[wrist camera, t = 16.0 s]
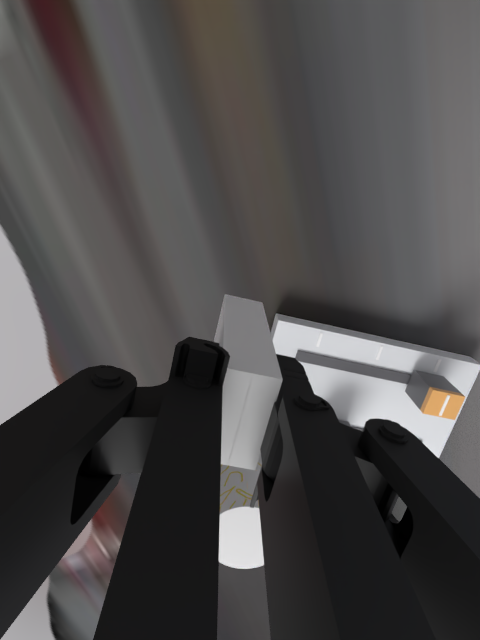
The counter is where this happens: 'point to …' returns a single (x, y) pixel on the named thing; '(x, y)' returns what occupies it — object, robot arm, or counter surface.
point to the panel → (372, 374)
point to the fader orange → (434, 395)
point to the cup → (239, 518)
